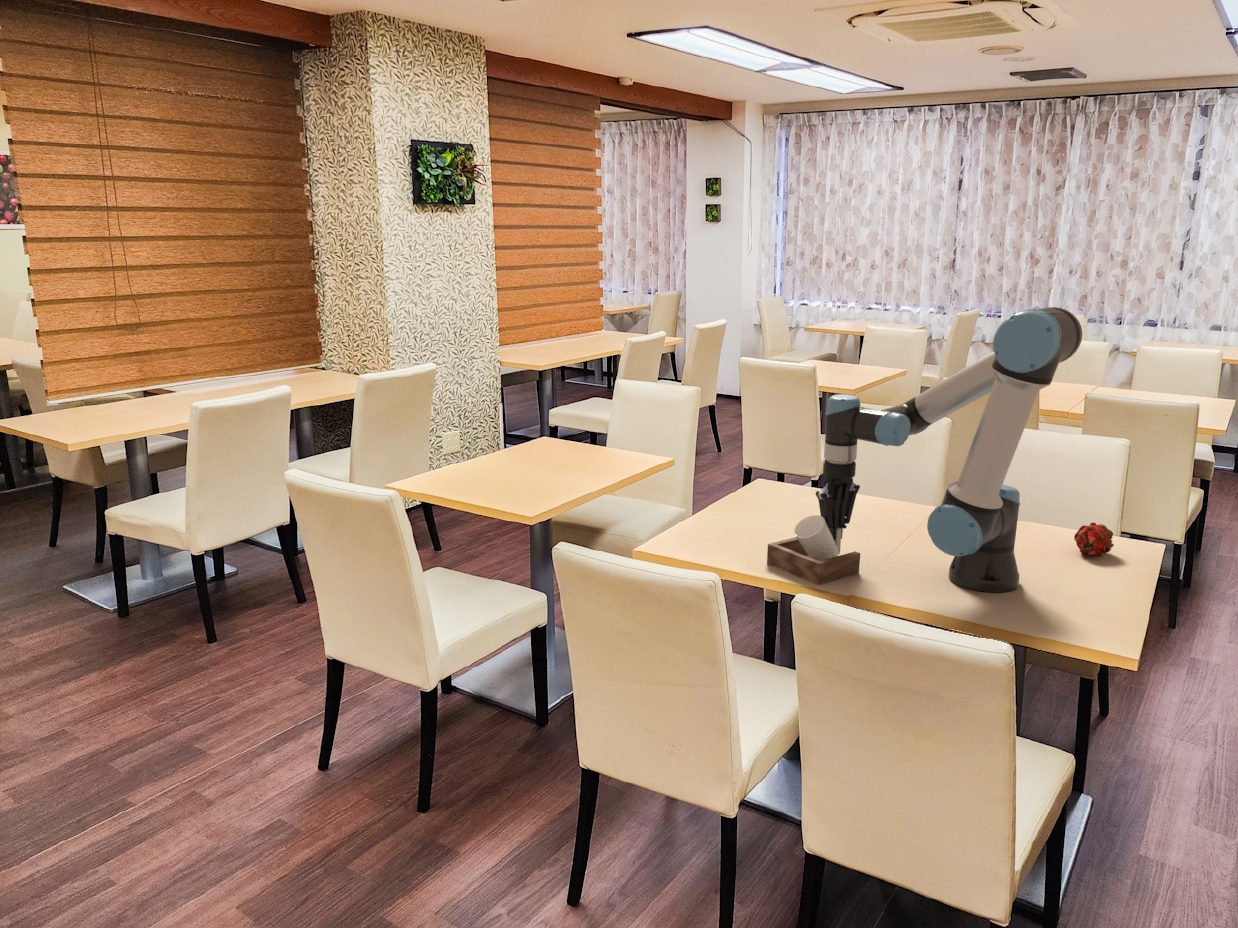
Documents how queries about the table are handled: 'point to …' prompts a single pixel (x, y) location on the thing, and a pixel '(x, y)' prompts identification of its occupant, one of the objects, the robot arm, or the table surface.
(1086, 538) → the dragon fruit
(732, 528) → the table surface
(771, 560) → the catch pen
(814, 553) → the white cup
